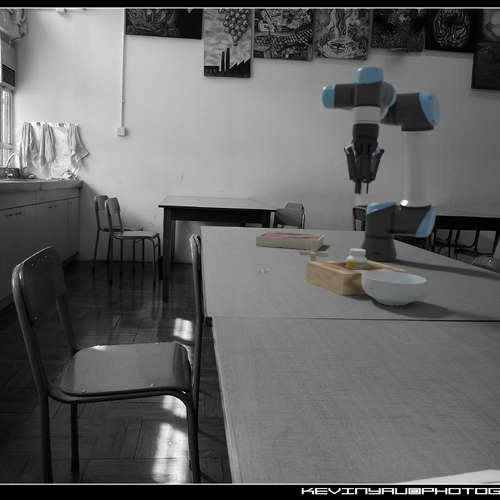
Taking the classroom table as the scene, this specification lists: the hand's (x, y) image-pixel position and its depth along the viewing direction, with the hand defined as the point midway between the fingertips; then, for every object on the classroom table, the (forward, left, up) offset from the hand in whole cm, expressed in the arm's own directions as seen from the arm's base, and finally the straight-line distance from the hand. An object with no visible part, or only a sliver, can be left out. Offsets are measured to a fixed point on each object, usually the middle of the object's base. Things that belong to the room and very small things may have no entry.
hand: (360, 205), depth 152 cm
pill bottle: (0, 0, -25) cm, 25 cm away
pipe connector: (-3, -30, -25) cm, 39 cm away
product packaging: (-23, -85, -25) cm, 91 cm away
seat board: (0, 0, -24) cm, 24 cm away
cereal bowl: (+2, +20, -25) cm, 32 cm away
